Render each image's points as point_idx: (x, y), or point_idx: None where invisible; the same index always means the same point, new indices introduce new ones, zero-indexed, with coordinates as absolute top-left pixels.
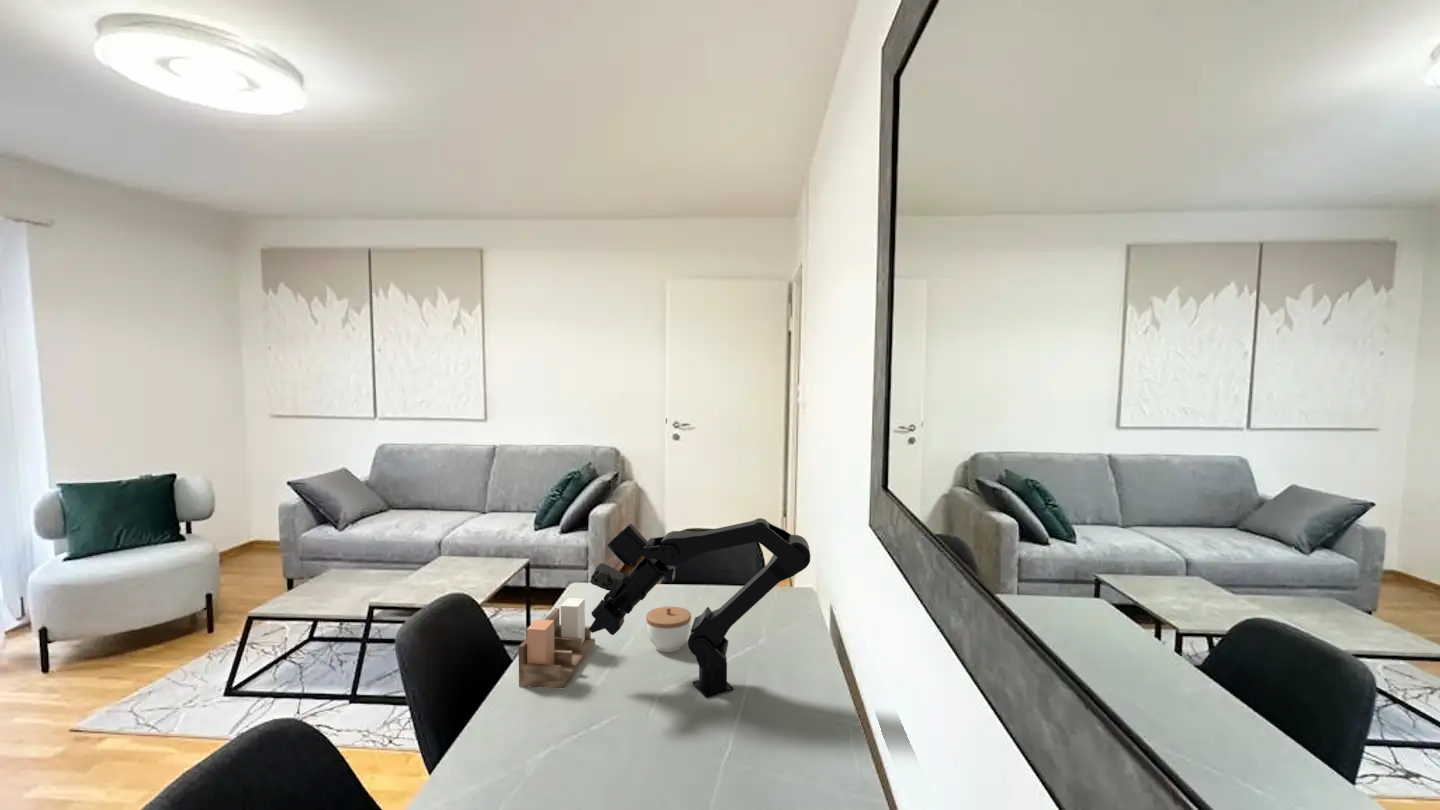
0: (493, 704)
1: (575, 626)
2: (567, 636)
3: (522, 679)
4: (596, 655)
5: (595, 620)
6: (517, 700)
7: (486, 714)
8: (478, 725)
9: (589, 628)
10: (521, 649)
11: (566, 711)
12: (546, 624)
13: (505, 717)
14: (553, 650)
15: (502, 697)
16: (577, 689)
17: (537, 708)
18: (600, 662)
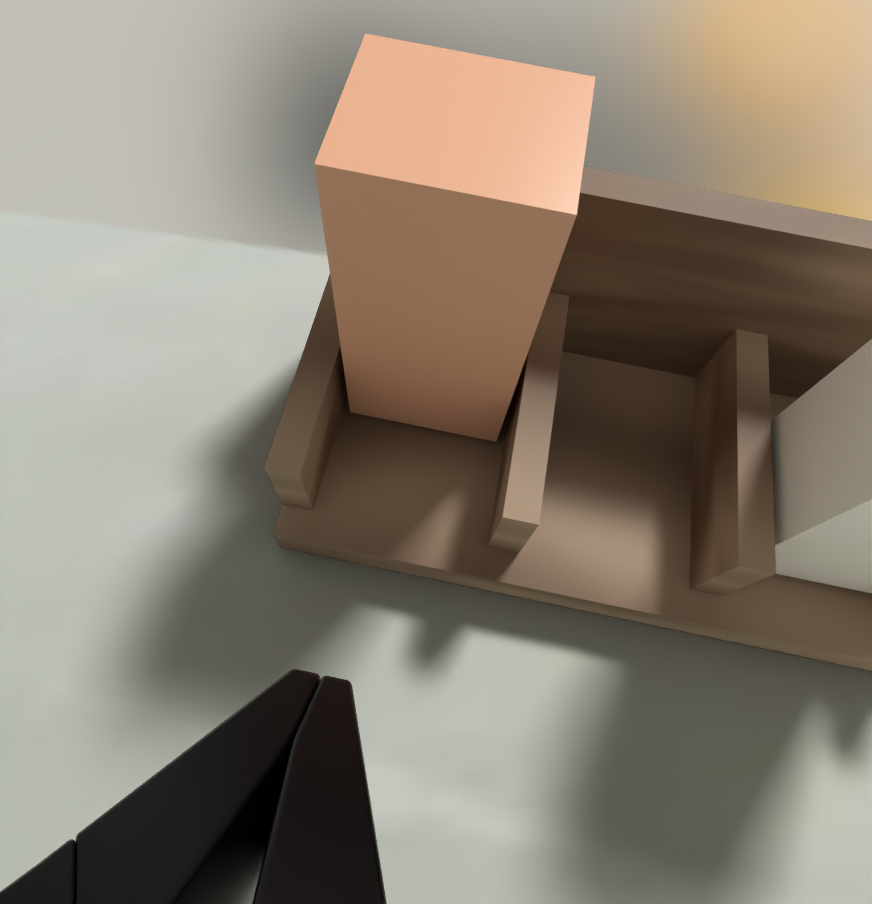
0: (199, 239)
1: (847, 488)
2: (784, 457)
3: None
4: (740, 710)
5: (110, 821)
6: (210, 327)
7: (114, 228)
8: (27, 216)
9: (283, 676)
10: None
11: (2, 595)
12: (459, 161)
13: (57, 303)
14: (497, 385)
15: (257, 262)
16: (261, 630)
17: (95, 430)
18: (634, 755)
